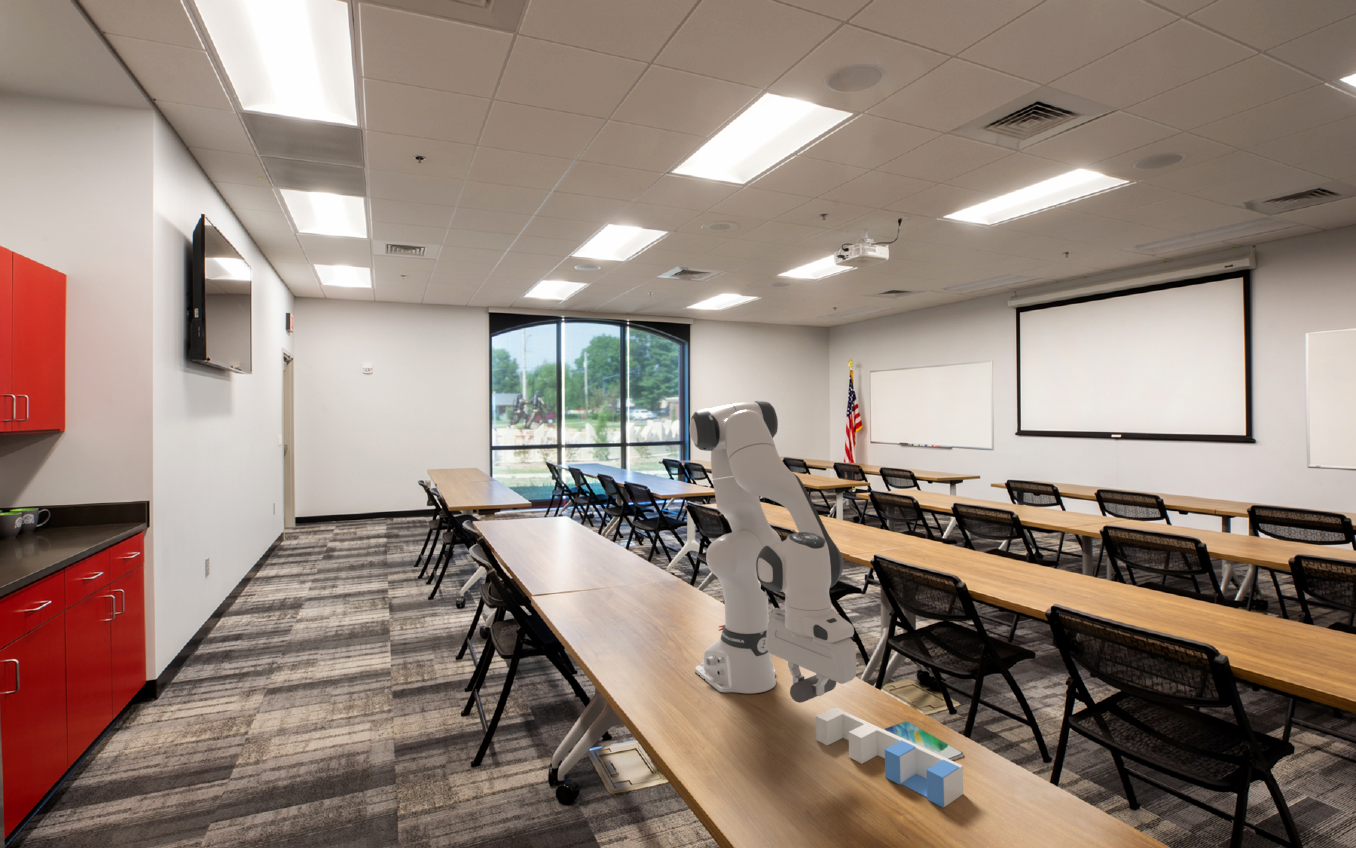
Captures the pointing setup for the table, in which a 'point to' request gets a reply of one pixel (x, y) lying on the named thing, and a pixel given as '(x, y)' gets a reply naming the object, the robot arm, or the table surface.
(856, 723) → the white slotted rack
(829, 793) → the table surface
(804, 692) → the gray pill-shaped peg
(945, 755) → the smartphone
